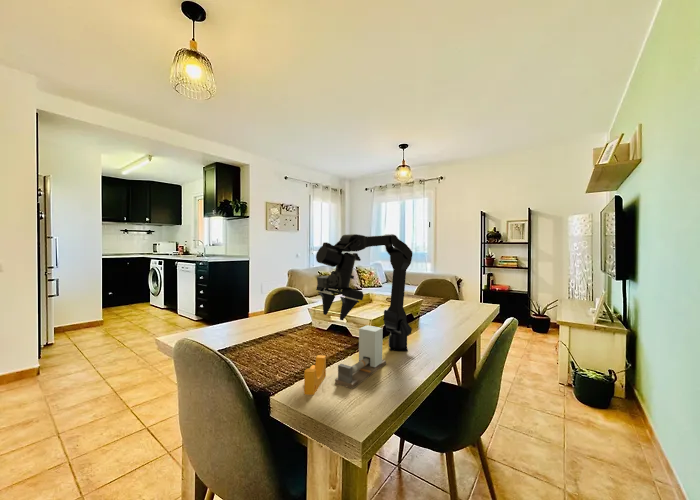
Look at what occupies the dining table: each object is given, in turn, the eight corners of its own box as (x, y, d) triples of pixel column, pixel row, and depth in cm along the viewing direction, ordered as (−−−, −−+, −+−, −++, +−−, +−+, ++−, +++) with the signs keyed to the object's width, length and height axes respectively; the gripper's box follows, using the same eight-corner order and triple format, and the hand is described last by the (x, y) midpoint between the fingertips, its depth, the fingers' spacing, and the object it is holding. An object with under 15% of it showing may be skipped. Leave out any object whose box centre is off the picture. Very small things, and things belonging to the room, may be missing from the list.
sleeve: (366, 358, 103) (366, 325, 102) (382, 362, 99) (382, 328, 99) (358, 363, 98) (359, 328, 98) (374, 367, 95) (375, 331, 95)
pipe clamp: (312, 375, 93) (312, 354, 93) (325, 376, 92) (325, 355, 92) (298, 394, 82) (298, 370, 81) (313, 395, 81) (313, 372, 81)
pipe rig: (370, 360, 105) (371, 344, 105) (386, 364, 102) (386, 348, 102) (335, 383, 88) (335, 364, 88) (352, 388, 84) (352, 369, 84)
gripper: (309, 263, 103) (297, 308, 100) (342, 266, 88) (329, 319, 85) (334, 270, 109) (324, 313, 107) (369, 274, 95) (358, 324, 92)
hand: (332, 317), depth 97 cm, fingers open, 9 cm apart
